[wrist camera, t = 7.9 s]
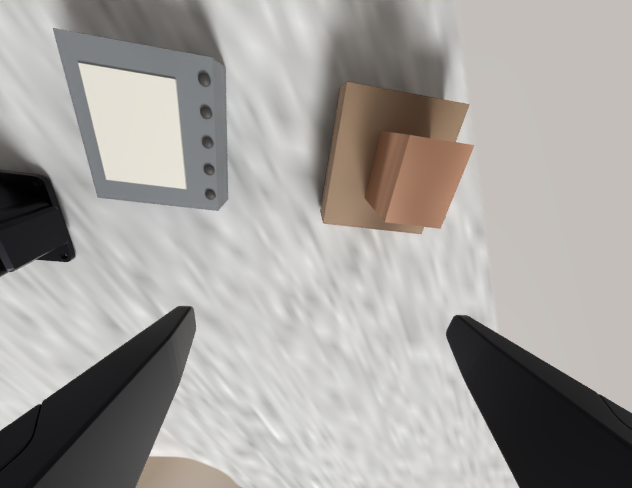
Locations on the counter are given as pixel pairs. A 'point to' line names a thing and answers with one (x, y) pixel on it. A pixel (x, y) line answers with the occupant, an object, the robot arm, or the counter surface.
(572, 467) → the robot arm
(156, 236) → the counter surface
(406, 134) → the block on square base
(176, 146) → the board
